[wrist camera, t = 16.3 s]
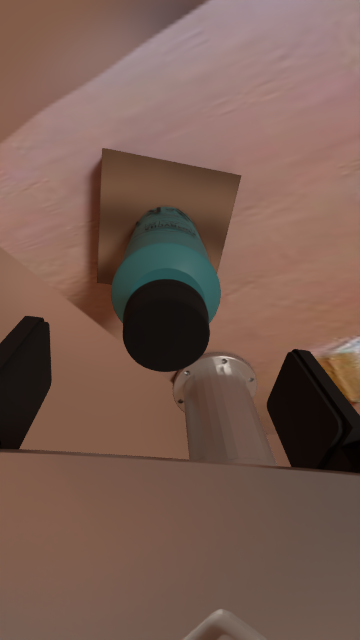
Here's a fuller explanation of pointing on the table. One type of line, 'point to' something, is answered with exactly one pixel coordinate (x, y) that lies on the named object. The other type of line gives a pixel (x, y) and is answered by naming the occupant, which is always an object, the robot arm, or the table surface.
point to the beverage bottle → (165, 291)
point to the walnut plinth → (159, 203)
